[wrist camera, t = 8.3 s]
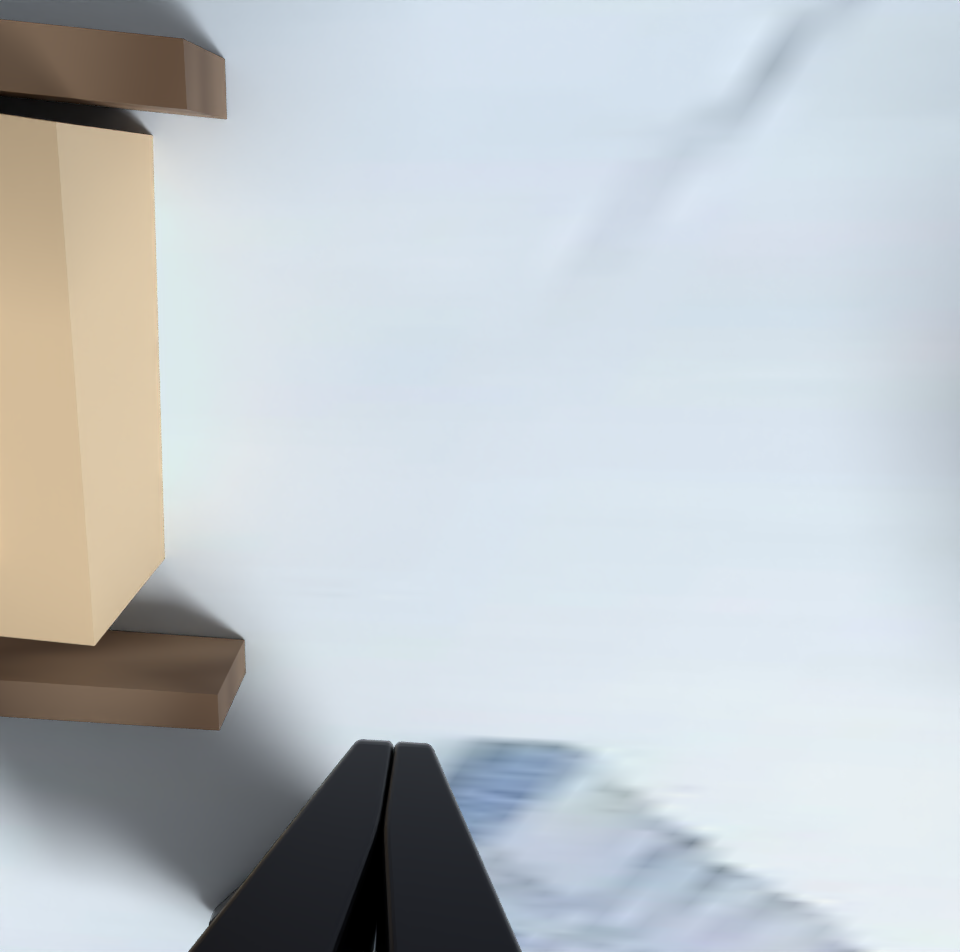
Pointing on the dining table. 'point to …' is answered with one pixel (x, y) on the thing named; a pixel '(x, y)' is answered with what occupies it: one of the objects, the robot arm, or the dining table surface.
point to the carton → (77, 378)
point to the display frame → (118, 654)
